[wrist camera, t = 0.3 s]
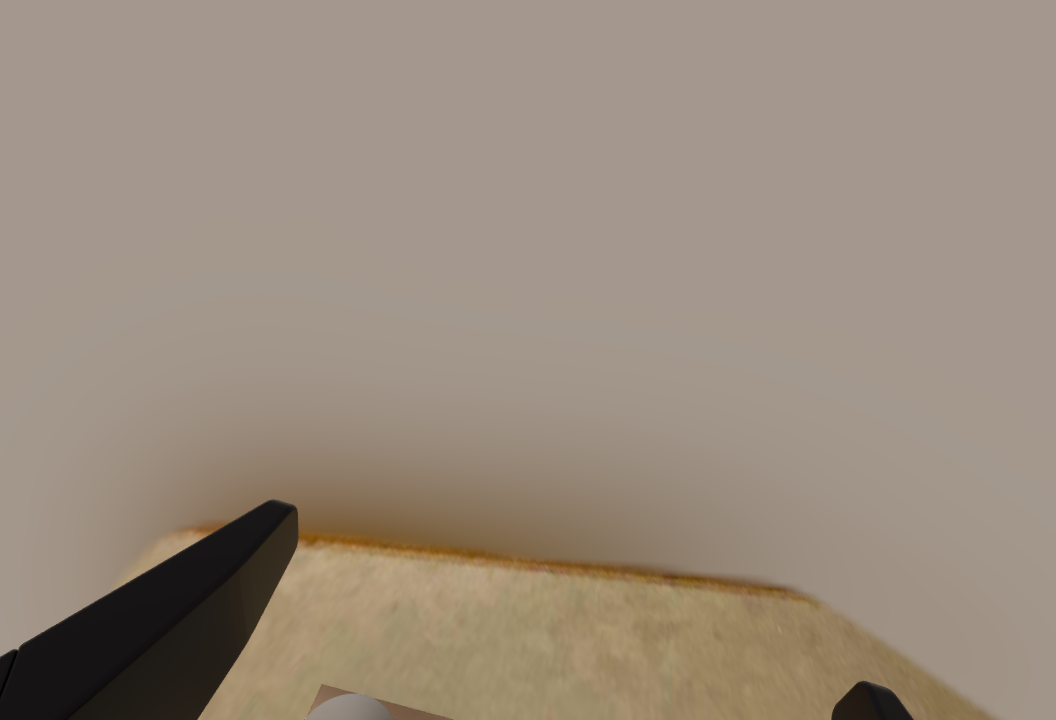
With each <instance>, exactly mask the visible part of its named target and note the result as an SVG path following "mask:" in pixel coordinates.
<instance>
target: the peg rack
mask: <svg viewBox="0 0 1056 720" xmlns="http://www.w3.org/2000/svg"><path fill="white" fill-rule="evenodd" d="M304 720H453V719H450V718H446V717H442V716H438V715H435V714H431V713H427V712H424V711H420V710H416V709H412V708H409V707H405V706H401V705H397V704H394V703H390V702H386V701H382V700H379V699H375V698H372V697H369V696H366V695H362V694H356V693H353V692H349V691H345V690H341V689H338V688H334V687H330V686H326V685H323V684H322V685H321V687H320V689H319V692H318V694H317V696H316V698H315V700H314V702H313V705H312V707H311V709H310V711H309V713H308V716H307V717H306V718H305V719H304Z"/></svg>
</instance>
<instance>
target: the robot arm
mask: <svg viewBox="0 0 1056 720" xmlns="http://www.w3.org/2000/svg"><path fill="white" fill-rule="evenodd" d="M297 544H298V512H297V508H296V507H295V506H294V505H292V504H289V503H285V502H283V501H279V500H274V499H273V500H269V501H267V502H265V503H263V504H261V505H260V506H258V507H256V508H254V509H253V510H251V511H249V512H248V513H246V514H244V515H242V516H241V517H239V518H237V519H236V520H234V521H232V522H230V523H229V524H227V525H225V526H224V527H222V528H220V529H218V530H217V531H215V532H213V533H212V534H210V535H208V536H207V537H205V538H203V539H201V540H200V541H198V542H196V543H195V544H193V545H191V546H189V547H188V548H186V549H184V550H183V551H181V552H179V553H177V554H176V555H174V556H172V557H171V558H169V559H167V560H165V561H164V562H162V563H160V564H159V565H157V566H155V567H153V568H152V569H150V570H148V571H147V572H145V573H143V574H142V575H140V576H138V577H136V578H135V579H133V580H131V581H130V582H128V583H126V584H124V585H123V586H121V587H119V588H118V589H116V590H114V591H112V592H111V593H109V594H107V595H106V596H104V597H102V598H100V599H99V600H97V601H95V602H94V603H92V604H90V605H89V606H87V607H85V608H83V609H82V610H80V611H78V612H77V613H75V614H73V615H71V616H70V617H68V618H66V619H65V620H63V621H61V622H60V623H58V624H56V625H54V626H53V627H51V628H49V629H48V630H46V631H44V632H42V633H41V634H39V635H37V636H35V637H34V638H32V639H30V640H29V641H27V642H25V643H23V644H22V645H21V646H20V647H19V649H18V650H17V649H13V650H11V651H10V652H8V653H6V654H4V655H3V656H1V657H0V720H197V719H198V718H199V716H200V715H201V713H202V712H203V710H204V709H205V707H206V706H207V704H208V703H209V701H210V700H211V698H212V697H213V695H214V693H215V692H216V690H217V689H218V687H219V686H220V684H221V683H222V681H223V680H224V678H225V677H226V675H227V674H228V672H229V671H230V669H231V668H232V666H233V664H234V663H235V661H236V660H237V658H238V657H239V655H240V654H241V652H242V650H243V649H244V647H245V646H246V644H247V642H248V641H249V639H250V637H251V635H252V633H253V631H254V630H255V628H256V626H257V624H258V622H259V620H260V618H261V616H262V614H263V612H264V610H265V608H266V607H267V605H268V603H269V601H270V599H271V597H272V595H273V593H274V591H275V589H276V587H277V585H278V583H279V581H280V579H281V578H282V576H283V574H284V572H285V570H286V568H287V566H288V564H289V562H290V560H291V558H292V556H293V554H294V552H295V550H296V547H297ZM831 720H914V719H913V718H912V716H911V715H910V714H909V712H908V711H907V709H906V708H905V707H904V705H903V704H902V703H901V701H900V700H899V698H898V697H897V696H896V695H895V694H894V693H893V692H892V691H891V690H890V689H888V688H886V687H883V686H880V685H877V684H874V683H870V682H867V681H860V682H858V683H857V684H856V685H855V686H854V687H853V688H852V689H851V690H850V691H849V692H848V693H847V694H846V695H845V696H844V697H843V698H842V699H841V700H840V701H839V702H838V703H837V704H836V705H835V707H834V709H833V712H832V718H831Z"/></svg>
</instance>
